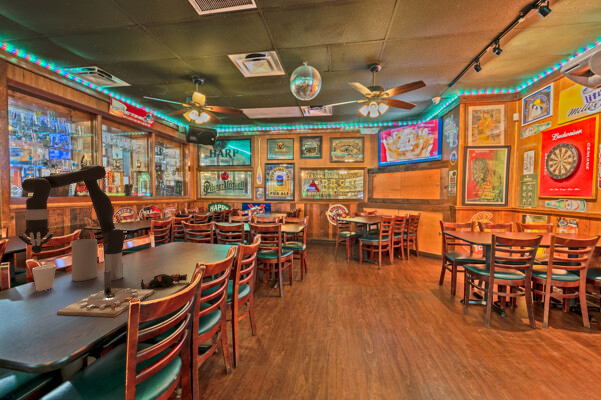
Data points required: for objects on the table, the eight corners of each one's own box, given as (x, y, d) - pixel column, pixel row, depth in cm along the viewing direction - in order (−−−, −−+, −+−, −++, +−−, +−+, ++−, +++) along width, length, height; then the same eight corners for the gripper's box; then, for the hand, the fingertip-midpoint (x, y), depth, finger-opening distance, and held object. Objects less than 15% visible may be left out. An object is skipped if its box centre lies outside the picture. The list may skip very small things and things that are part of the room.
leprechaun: (142, 280, 151) (186, 270, 163) (143, 296, 147) (188, 285, 159) (139, 276, 142) (186, 266, 155) (141, 293, 139) (188, 281, 151)
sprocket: (108, 289, 138) (108, 268, 138) (148, 290, 137) (148, 269, 137) (66, 308, 115) (66, 283, 114) (113, 310, 114) (113, 284, 113)
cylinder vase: (82, 282, 153) (82, 243, 153) (66, 280, 155) (66, 242, 155) (102, 275, 166) (101, 239, 165) (86, 274, 167) (86, 238, 167)
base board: (107, 290, 141) (107, 285, 141) (154, 292, 139) (154, 287, 139) (57, 314, 113) (57, 307, 113) (114, 316, 111) (114, 310, 111)
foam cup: (28, 293, 135) (28, 270, 135) (37, 287, 144) (37, 265, 143) (52, 290, 140) (51, 268, 139) (58, 285, 148) (58, 263, 148)
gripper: (58, 217, 126) (58, 250, 127) (22, 218, 121) (23, 252, 121) (51, 218, 120) (51, 253, 120) (13, 219, 114) (13, 256, 114)
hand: (37, 252), depth 121 cm, fingers closed
